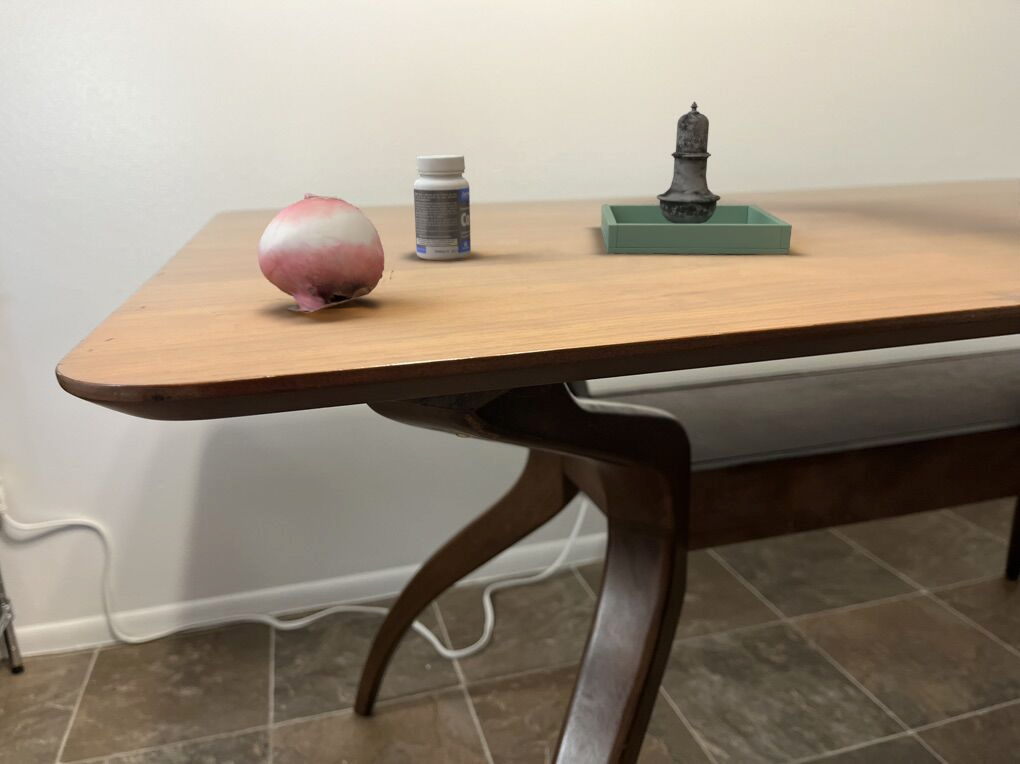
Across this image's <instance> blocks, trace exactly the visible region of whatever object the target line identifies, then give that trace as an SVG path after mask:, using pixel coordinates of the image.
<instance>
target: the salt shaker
mask: <svg viewBox="0 0 1020 764" xmlns="http://www.w3.org/2000/svg"><path fill="white" fill-rule="evenodd" d="M689 107H690V108H691V109H690V111H688V112H687V113H685V114H683V115H681V116H680V117H679V119H678V120H677V123H676V139H675V151H673V153H671V157H673V159H674V161H673V175H672V176H673V177H672V180H671V183H670V187H669V188H668V189H667V190H666V191H664V193H660V194H657V195H656V199H657V200H659V205H660V210H661V213H662V215H663V216H664V217H665V218H666V220H667V221H670V222H672V223H674V224H700V223H703V222H706V221H707V220H709V219H710V218H711V217H712V215H713V213H714V211H715V209H716V205H718V204H717V203H718V201H720V200H721V196H720V195H717V194H714V193H713V192H712V191H711V190H710V189H709V186H708V181H707V168H708V159H709V158H710V157H711V156H712V154H711V153H710V152H708V146H709V145H708V143H709V128H710V122H709V121H710V120H709V118H708V117H707V116H706V115H705V114H703V113H700V111H699V110H697V108H699V106H698V104H697V103H696V101H693V103H691V105H690V106H689Z"/></svg>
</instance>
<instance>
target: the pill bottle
mask: <svg viewBox="0 0 1020 764" xmlns="http://www.w3.org/2000/svg"><path fill="white" fill-rule="evenodd" d="M465 170H466V165H465V155H461V154H434V155H430V154H429V155H420V156H416V171H417V172H416V173H417V175H419V178H418V179H416V180H415V181H414V183H413V200H414V201H413V205H414V227H415V229H414V231H415V245H416V246H415V247H416V249H415V251H416V256H417V257H419V258H420V259H422V260H429V261H451V260H453V261H454V260H461V259H464V258H467V257H469V256H470V255H471V250H472V248H471V247H472V246H471V245H472V244H471V241H472V240H471V212H470V211H471V205H470V202H471V200H470V199H471V198H470V197H471V196H470V195H471V194H470V183H469V181H468V180H467V179H466V178H465V177H463V174H464V173H465Z"/></svg>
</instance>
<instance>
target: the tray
mask: <svg viewBox="0 0 1020 764" xmlns="http://www.w3.org/2000/svg"><path fill="white" fill-rule="evenodd" d="M600 213H601V214H600V216H601V217H600V230H601V234H602V236H603V241H604V245H605V248H606V252H607V254H645V255H647V254H649V255H650V254H654V255H656V254H658V255H660V254H661V255H663V254H664V255H665V254H667V255H668V254H670V255H671V254H673V255H674V254H675V255H677V254H679V255H789V254H790V247H791V240H792V239H791V237H792V231H793V229H792V228H793V225H792V224H790V223H789V222H787V221H785V220H784V219H781V218H780V217H778V216H776V215H775V214H772V213H770V212H769V211H767V210H765V209H764V208H762V207H759V206H757V205H756V204H716V209H715V211H714V213H713V215H712V217H711V218H710V219H709V220H707V221H706V222H703V223H700V224H674V223H672V222H670V221H667V220H666V218H665V217H664V216H663V215H662V213H661V210H660V204H601V211H600Z"/></svg>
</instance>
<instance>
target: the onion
mask: <svg viewBox="0 0 1020 764" xmlns="http://www.w3.org/2000/svg"><path fill="white" fill-rule="evenodd" d="M257 258H258V265H259V268H260V271H261V273H262V275H263V276H264V278H265V279H266V280H267V281H268V282H269V283H271V284H272V285H273V286H274V287H277V289H278V290H280V292H282V293H285V294H286V295H288V296H291V297H292V298H293V299H294V301H295V303H296V304H295V305H294V304H293V305H291V306H288V307H286V308H285V309H286V310H290V311H294V312H302V313H304V314H311V313H313V312H317V311H319V310H323V309H326V308H329V307H333V306H336V305H339V304H343V303H345V302H348V301H352V300H354V299H357V298H360V297H364V296H368V295H369V294H370V293H371V292H373V291H374V289H376V288H377V286H378V284H379V282H380V281H381V279H382V278H383V277H384V274H383V272H384V270H385V251H384V248H383V244H382V241H381V237H380V234H379V231H378V229H377V228H376V226H375V225H374V223H373V221H372V220H371V219H370V218H369V217H368V216H367V215H366V213H365V212H363V211H362V210H360V208H358V207H357V206H356V205H353V204H352V203H349V202H347V201H346V200H344V199H342V198H340V197H338V196H335V195H325V196H321V195H316V194H313V193H311V192H310V193H309V192H307V193H304V198H303V199H301V200H299V201H297V202H295V203H292V204H290V205H287V206H286V207H284V208H283V209H282V210H280V211H279V212H278V213H277V214H276V215H275V216H274V217H273V218H272V220H270V222H269V223H268V225H267V226H266V228H265V229H264V231H263V234H262V235H261V238H260V240H259V243H258V250H257Z"/></svg>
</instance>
